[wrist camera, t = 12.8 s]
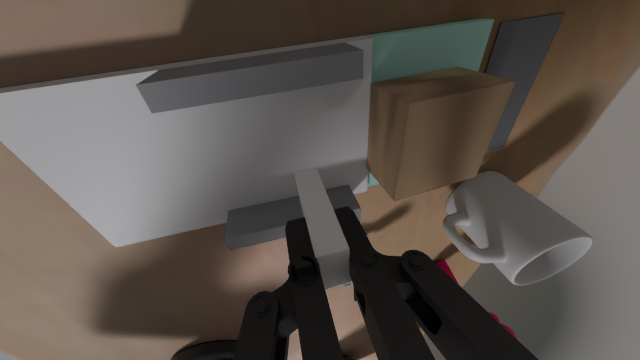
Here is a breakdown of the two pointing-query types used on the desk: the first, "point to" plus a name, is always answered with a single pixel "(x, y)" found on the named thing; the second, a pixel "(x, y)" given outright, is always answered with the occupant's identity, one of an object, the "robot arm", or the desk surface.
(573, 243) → the mug
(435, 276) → the robot arm
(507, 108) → the mat
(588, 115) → the desk surface
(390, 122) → the block
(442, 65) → the tile
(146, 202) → the plate
